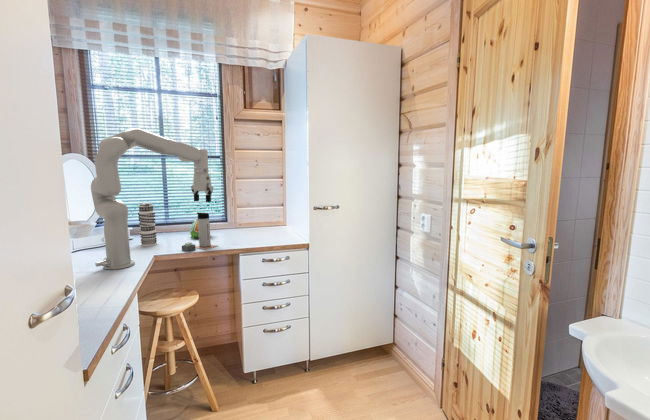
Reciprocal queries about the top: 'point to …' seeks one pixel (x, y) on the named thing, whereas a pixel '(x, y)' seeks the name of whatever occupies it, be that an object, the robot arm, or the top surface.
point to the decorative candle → (147, 224)
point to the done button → (188, 244)
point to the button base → (188, 248)
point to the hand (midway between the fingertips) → (202, 201)
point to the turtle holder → (194, 229)
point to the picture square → (206, 247)
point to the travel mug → (204, 230)
